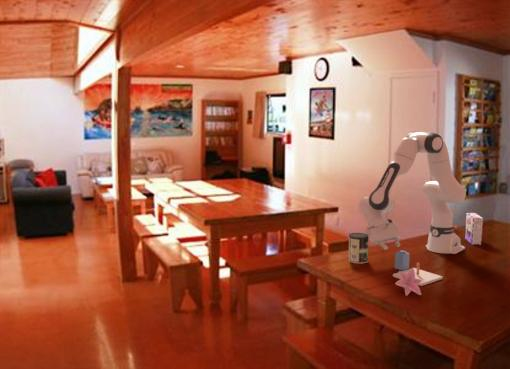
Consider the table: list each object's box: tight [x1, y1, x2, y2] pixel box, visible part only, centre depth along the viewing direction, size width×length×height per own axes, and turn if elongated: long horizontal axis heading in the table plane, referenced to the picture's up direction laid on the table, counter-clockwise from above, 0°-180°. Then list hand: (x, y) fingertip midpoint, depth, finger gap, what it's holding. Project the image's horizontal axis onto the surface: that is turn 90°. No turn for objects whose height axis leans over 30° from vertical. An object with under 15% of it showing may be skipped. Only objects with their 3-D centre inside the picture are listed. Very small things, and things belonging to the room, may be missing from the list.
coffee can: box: [348, 232, 369, 265], centre depth 257 cm, size 10×10×14 cm
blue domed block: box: [394, 250, 410, 272], centre depth 244 cm, size 5×5×9 cm
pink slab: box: [392, 262, 443, 287], centre depth 231 cm, size 16×16×7 cm
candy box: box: [464, 212, 484, 246], centre depth 292 cm, size 14×6×16 cm, turn 172°
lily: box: [394, 267, 422, 297], centre depth 214 cm, size 12×12×10 cm
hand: (392, 247), depth 248 cm, fingers open, 8 cm apart
